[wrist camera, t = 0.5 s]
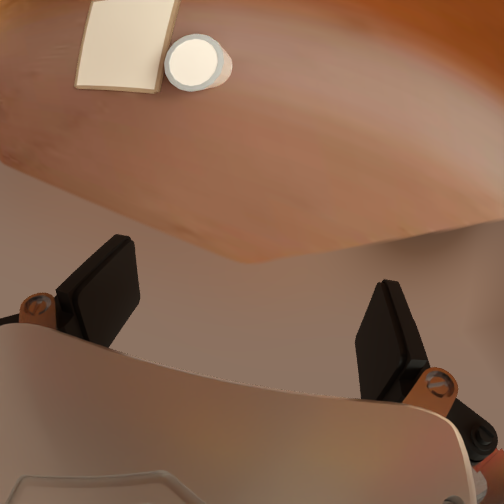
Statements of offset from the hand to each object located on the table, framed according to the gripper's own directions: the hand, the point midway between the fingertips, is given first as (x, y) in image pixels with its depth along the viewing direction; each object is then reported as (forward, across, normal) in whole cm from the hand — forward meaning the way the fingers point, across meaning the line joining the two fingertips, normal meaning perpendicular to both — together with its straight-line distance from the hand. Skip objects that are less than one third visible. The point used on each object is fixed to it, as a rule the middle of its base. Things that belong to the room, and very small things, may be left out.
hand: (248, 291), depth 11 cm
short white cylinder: (+31, +11, -10) cm, 34 cm away
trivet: (+31, +25, -14) cm, 42 cm away
